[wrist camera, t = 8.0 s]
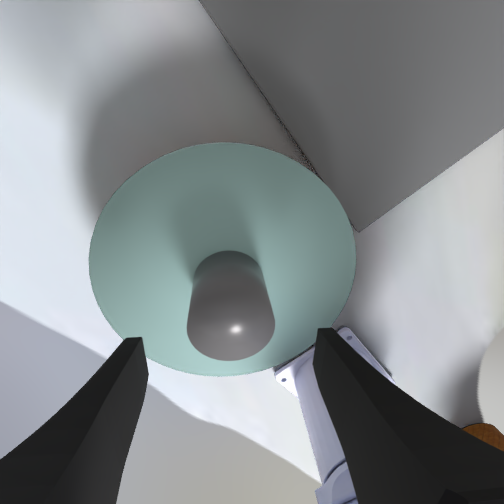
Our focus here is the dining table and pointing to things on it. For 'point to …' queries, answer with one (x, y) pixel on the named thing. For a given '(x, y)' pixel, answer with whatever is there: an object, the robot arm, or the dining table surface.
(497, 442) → the disposable coffee cup
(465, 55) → the mat
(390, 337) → the dining table surface
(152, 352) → the lid
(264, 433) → the dining table surface
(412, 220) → the dining table surface
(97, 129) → the dining table surface
